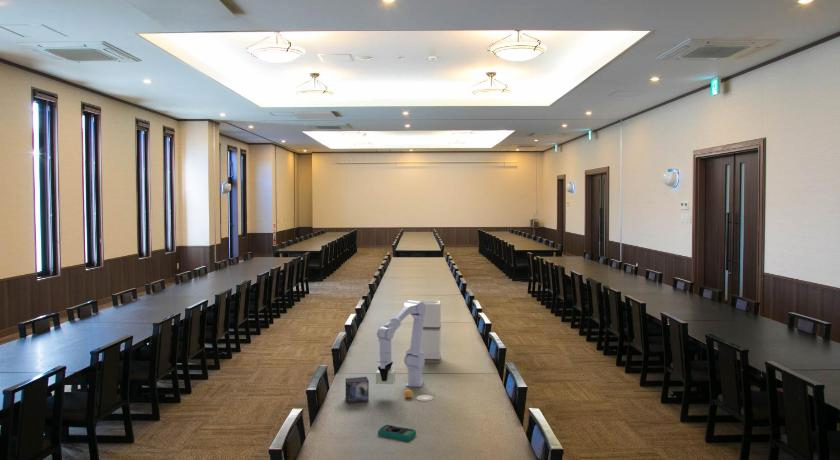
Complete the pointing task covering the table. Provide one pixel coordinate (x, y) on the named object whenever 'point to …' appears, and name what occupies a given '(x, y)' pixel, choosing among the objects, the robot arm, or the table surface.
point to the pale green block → (389, 378)
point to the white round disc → (424, 398)
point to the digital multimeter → (397, 432)
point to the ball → (408, 393)
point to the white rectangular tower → (432, 332)
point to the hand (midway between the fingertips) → (385, 378)
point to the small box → (357, 389)
